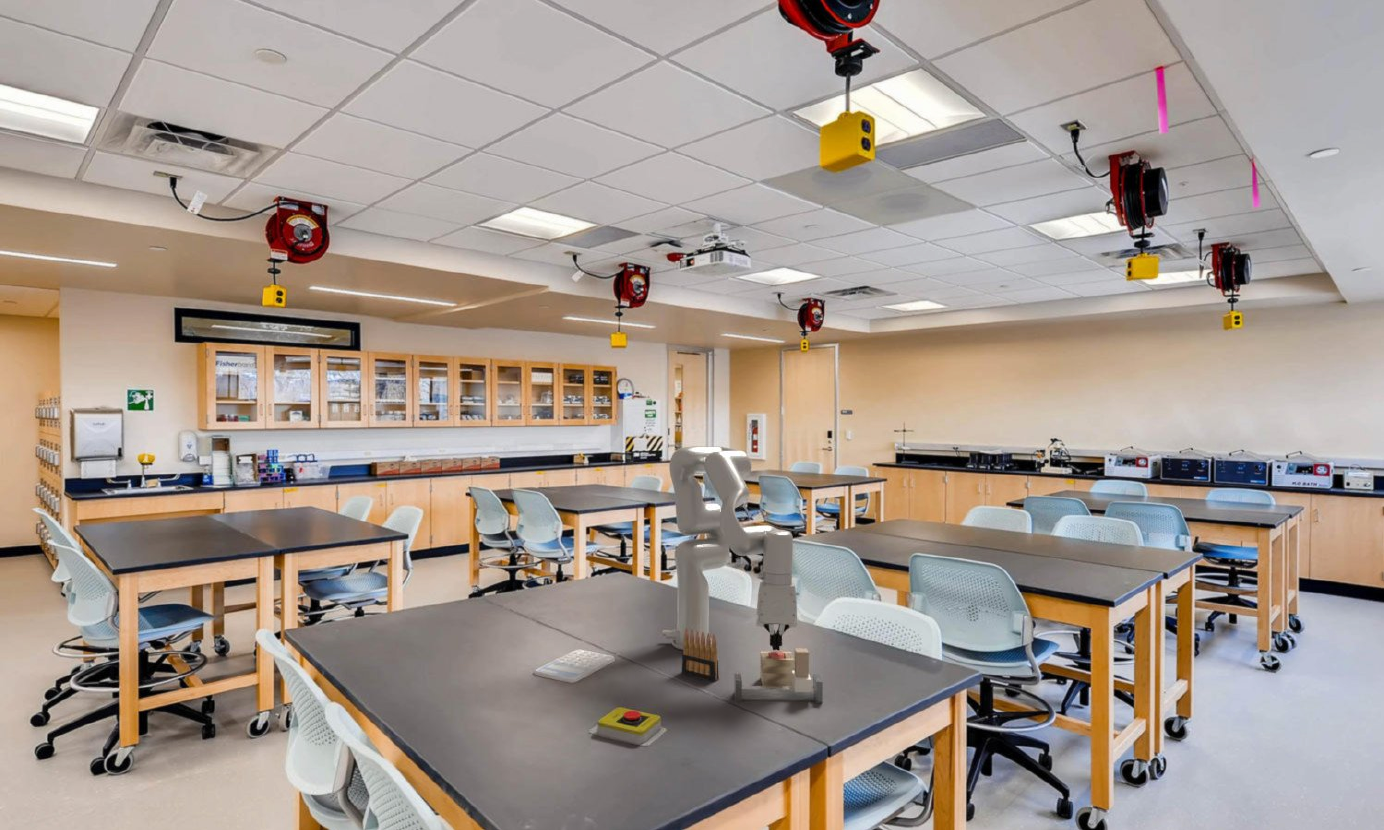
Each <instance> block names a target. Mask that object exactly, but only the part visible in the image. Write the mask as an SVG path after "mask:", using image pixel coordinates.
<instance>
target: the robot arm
mask: <svg viewBox="0 0 1384 830" xmlns="http://www.w3.org/2000/svg"><path fill="white" fill-rule="evenodd" d="M668 468H669V474H670V475H669V476H670V479H671V483H672V487H673V493H674V504H675V517H676V525H677V529H678V532H680V534H682V535H684V536H697V535H705V537H706V538H696V539H689V540H684V541H682V542H680V543H679V544H678V545H677V546H676V547H675V550H674V562H675V563H674V564H675V569H676V576H677V577H676V579H677V610H676V611H677V612H676V613H677V615H676V616H677V617H676V618H677V623H676V624H677V625H676V629H675V628H674V629H672V630H668V629H663V630H662V637H663V638H665V639H672V640H671V645H672V647H674V648H676V649H678V650H682V651H683V645H684V635H685V630H686V628H687V629H688V634H689V643H690V633H691V630H693V632H694V643H695V637H696V632H697V631H698V632H699V636H700V645H701V635H702V632H704V635H705V646H706V639H707V635H708V633H709V634H710V630H709V627H710V625H709V623H710V621H709V620H710V618H709V617H710V616H709V615H710V611H709V610H710V602H709V601H710V587H709V586H710V585H709V583H708V582H709V581H708V580H707V579H706V576H705V575H704V571H710V570H716V569H721V568H724V567H725V566H726V565H727V564H728V562H729V558H730V550H731V551H732V552H733V553H734V554H735V555H737V556H741V557H746V556H753V555H762V554H763V556H762V571H761V572H759V573H757V574H756V575H757V577H756V578H757V580H758V579H759V580H761V581H760V583H759V587H758V591H757V592H758V593H757V602H756V603H757V604H756V620H755V626H758V627H760V628H764V629H765V630H766V631H767V632H768V633H769V646H770V647H771V648H772V651H778V652H780V647H783V635H784V634H785V632H786V631H787V630H788V629H791V628H796V627H798V623H797V620H798V605H797V602H798V601H797V589H796V585H795V584H794V583H793V547H794V546H793V543H794V542H793V540H794V538H793V534H792V532H790V531H788V530H784V529H778V528H776V527H774V526H772V525H769V524H759V525H749V526H742V524H741V523H740V521H739V519H738V517H737V514H736V508H737V509H738V508H739V507H740V506H741V505H743V504H744V503H745V502H746V501H747V500H748V499H749V496H750V493H751V492H750V489H749V487H748V485H747V484H746V481H745V480H744V479H745V478H747V477H749V476H750V474H751V471H752V462H751V459H750V457H749V456H748V454H747V453H746V452H745V451H743V450H739V449H734V448H729V447H725V446H714V445H712V446H709V445H708V446H705V445H704V446H698V445H697V446H685V447H679V448H678V449H677V450H675V451H674V452H673V453H672V455H671V458H670V460H669V466H668ZM695 475H707V476H708V479H709V480H710V483H711V484H712V487H713V488H714V490H715V492H716V494H717V496H718V498H719V500H720V501H721V505H720V504H718V503H716V502H704V499H703V489H702V487H701V485H700V482H699V481H698V479H696V477H695ZM774 625H778V626H777V629H776V630H775V627H774ZM711 648H712V638H711Z"/></svg>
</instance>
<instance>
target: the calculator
mask: <svg viewBox="0 0 1384 830" xmlns="http://www.w3.org/2000/svg"><path fill="white" fill-rule="evenodd" d="M615 661H616V658H615V656H613V655H611V654H607V653H605V654H604V653H600V652H595V651H594V652H593V651H589V650H584V649H580V648H579V649H576V650H573V651H571V652H569V653H567V654H565V655H564V656H561V657H558V658H557V659H555V660H553V661H551V662H548V663H546V664H544V665H542V666H541V667H538V668H536V669H535V671H534V675H535V676H539V677H541V678H547V679H552V680H557V681H560V682H566V683H570V684H571V683H573V684H575V683H577V682H579V681H580V680H583V679H584V678H586V677H588V676H590V675H592V674H593V673H596V672H597V671H599V670H600V669H603V668H604V667H606V666H608V665H609V664H611V663H613V662H615Z"/></svg>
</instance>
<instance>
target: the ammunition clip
mask: <svg viewBox="0 0 1384 830" xmlns="http://www.w3.org/2000/svg"><path fill="white" fill-rule="evenodd" d="M711 639H712V647H711ZM717 648H718V647H717V638H716V634H715V633H714V634H713V635H712V637H711V635H710V632H709V633H708V635H707V639H706V646H705V635H704V632H702V635H701V645H700V636H699V632H698V631H697V632H696V637H695V643H694V632H693V630H691V633H690V643H689V634H688V629H687V628H686V630H685V635H684V645H683V650H682V651H683V653H682V655H681V674H682V675H687V676H691V677H694V678H698V679H702V680H706V681H710V682H713V683H715V682H717V681H718V680H720V679H719V660H718V649H717Z"/></svg>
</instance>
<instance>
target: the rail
mask: <svg viewBox="0 0 1384 830" xmlns="http://www.w3.org/2000/svg"><path fill="white" fill-rule="evenodd" d="M733 675H734V679H733V680H734V681H733V682H734V683H733V684H734V685H733V687H734V688H733V689H734V691H733V692H734V693H733V694H734V701H735V703H742V700H755V701H756V700H758V701H759V700H760V701H761V700H763V701H764V700H765V701H766V700H767V701H768V700H769V701H789V700H790V701H815V703H816V704H817V703H819V704H822V703H823V699H824V698H823V697H824V694H823V691H824V689H823V687H824V686H823V685H824V684H823V683H824V682H823V679H822V678H821V676H820V674H819V673H817V674H815V673H814V674H812V692H795V691H794V688H793V686H762V685H743V684H742V683H743V681H742V676H741V673H739V672H738V673H736V672H735V673H733Z"/></svg>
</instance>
